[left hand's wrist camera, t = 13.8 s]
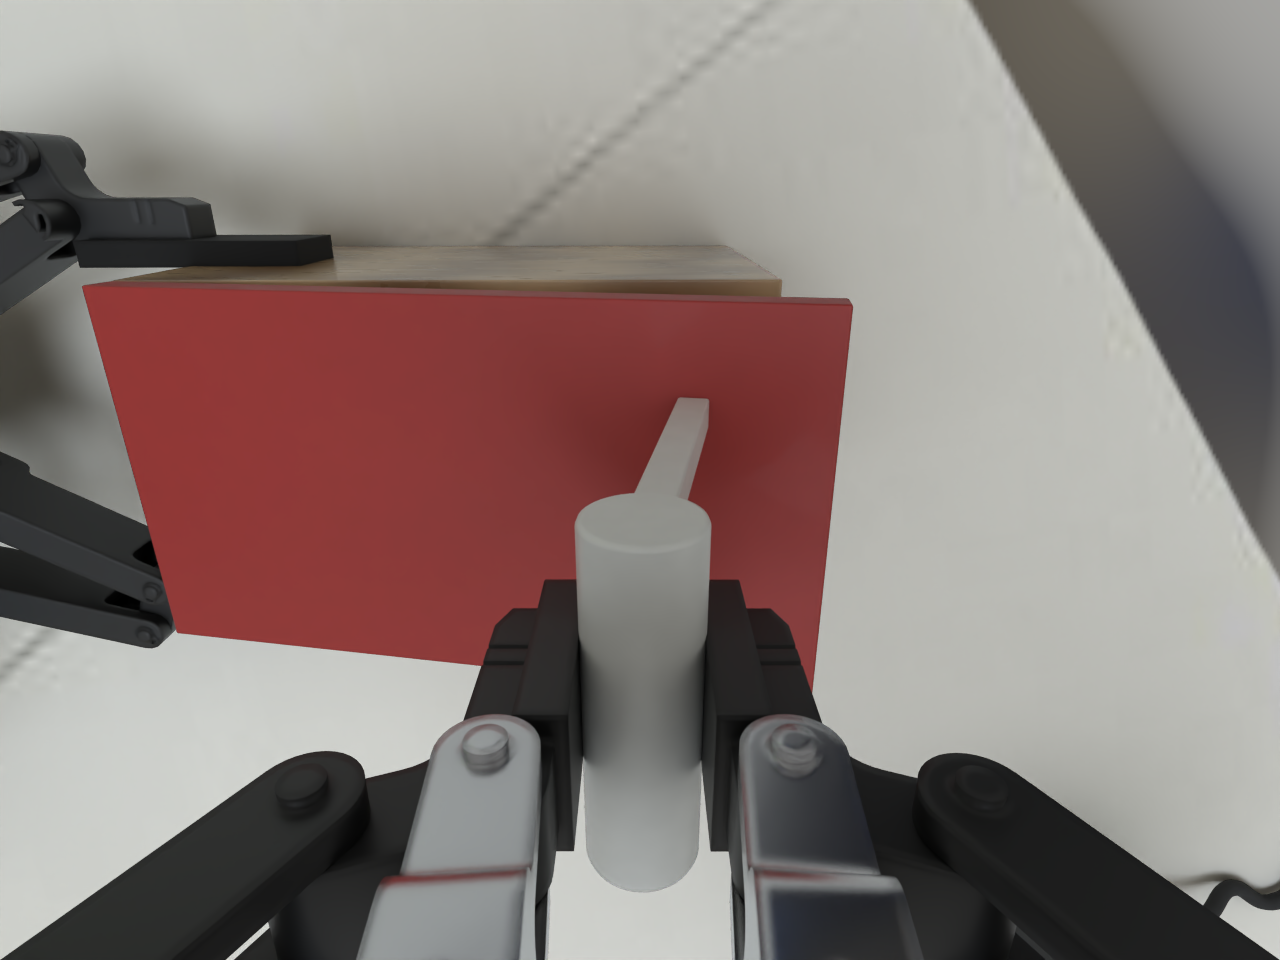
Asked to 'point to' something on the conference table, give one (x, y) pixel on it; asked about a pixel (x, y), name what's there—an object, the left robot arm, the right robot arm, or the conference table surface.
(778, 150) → the conference table surface
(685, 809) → the lid
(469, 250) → the chest
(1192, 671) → the conference table surface
